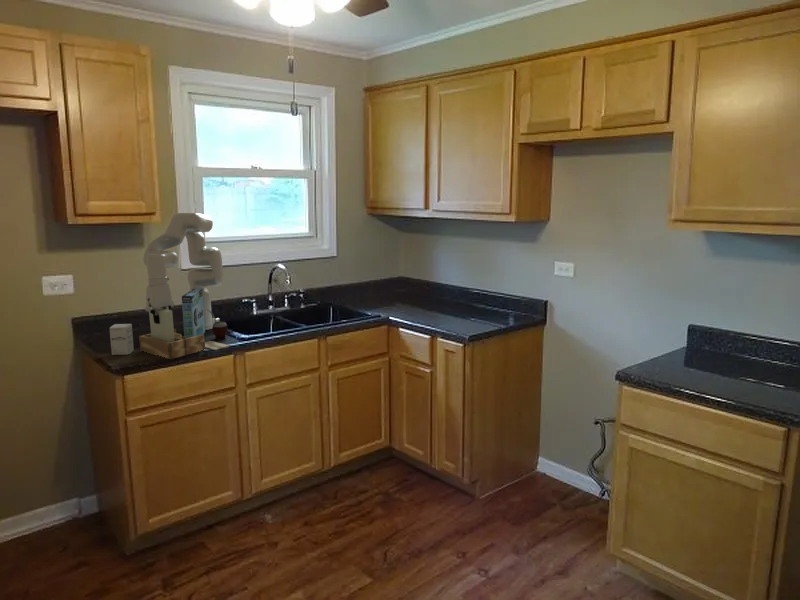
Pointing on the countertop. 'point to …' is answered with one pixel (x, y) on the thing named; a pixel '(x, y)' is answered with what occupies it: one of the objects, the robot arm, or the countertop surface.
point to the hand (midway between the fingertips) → (161, 321)
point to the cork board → (215, 345)
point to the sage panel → (162, 326)
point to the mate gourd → (219, 329)
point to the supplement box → (121, 339)
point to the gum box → (193, 313)
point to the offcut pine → (177, 335)
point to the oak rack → (172, 345)
